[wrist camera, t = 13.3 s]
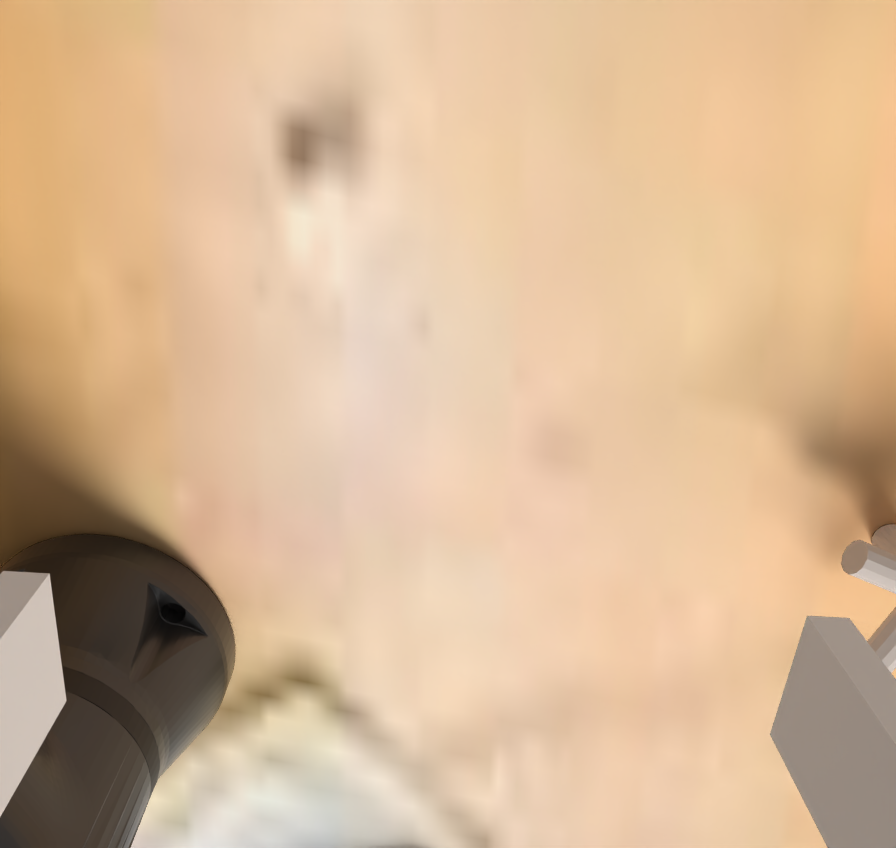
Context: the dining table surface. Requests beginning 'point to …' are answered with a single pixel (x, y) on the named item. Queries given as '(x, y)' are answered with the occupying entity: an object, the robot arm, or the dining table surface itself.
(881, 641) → the pipe connector
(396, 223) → the dining table surface
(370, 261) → the dining table surface
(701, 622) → the dining table surface
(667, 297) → the dining table surface
